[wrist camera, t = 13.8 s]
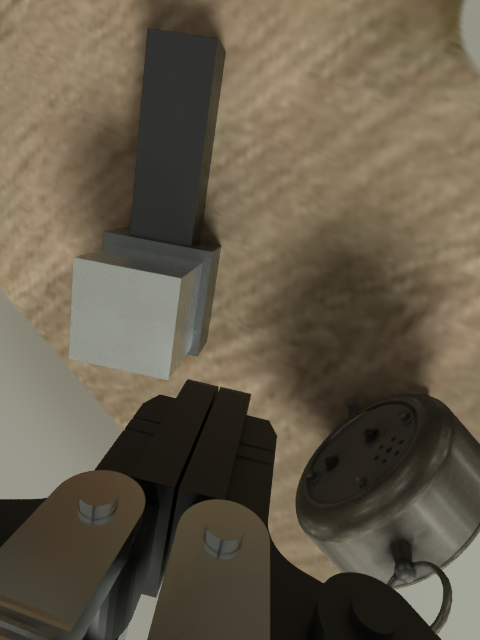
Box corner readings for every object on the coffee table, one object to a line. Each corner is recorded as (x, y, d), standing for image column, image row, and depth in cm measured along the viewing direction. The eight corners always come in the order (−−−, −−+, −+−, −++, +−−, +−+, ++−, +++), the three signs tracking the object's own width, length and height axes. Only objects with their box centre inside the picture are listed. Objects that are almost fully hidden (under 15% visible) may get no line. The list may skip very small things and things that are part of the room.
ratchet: (137, 38, 26) (93, -3, 21) (250, 55, 26) (235, 18, 20) (115, 322, 32) (75, 350, 26) (206, 341, 32) (185, 374, 26)
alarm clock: (330, 484, 33) (355, 734, 18) (284, 435, 33) (269, 650, 17) (454, 404, 30) (611, 624, 15) (406, 348, 30) (519, 517, 14)
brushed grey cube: (113, 245, 27) (73, 257, 23) (202, 262, 27) (181, 278, 22) (107, 331, 29) (69, 358, 24) (190, 348, 29) (168, 380, 24)
